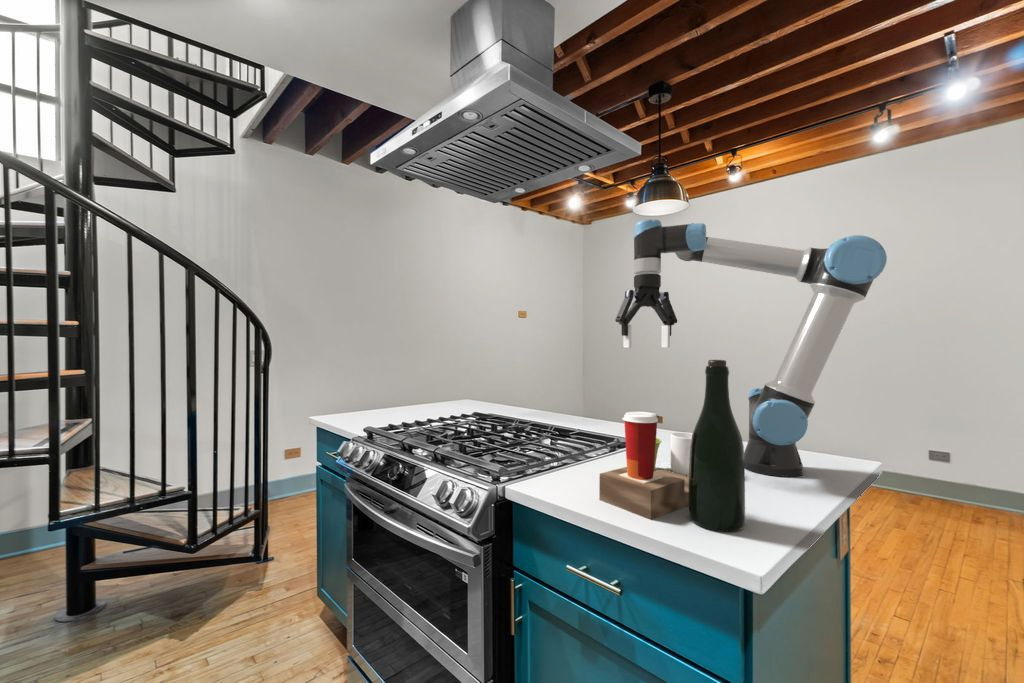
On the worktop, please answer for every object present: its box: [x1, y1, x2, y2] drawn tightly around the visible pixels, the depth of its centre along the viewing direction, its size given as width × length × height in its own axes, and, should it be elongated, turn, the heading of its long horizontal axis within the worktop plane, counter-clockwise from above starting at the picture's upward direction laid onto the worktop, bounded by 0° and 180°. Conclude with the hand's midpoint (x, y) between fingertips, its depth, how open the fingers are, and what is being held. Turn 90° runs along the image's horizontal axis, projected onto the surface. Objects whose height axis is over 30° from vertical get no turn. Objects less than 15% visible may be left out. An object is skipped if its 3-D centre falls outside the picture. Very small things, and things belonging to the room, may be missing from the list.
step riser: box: [598, 466, 689, 520], centre depth 104 cm, size 24×14×6 cm, turn 126°
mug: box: [670, 431, 693, 476], centre depth 123 cm, size 12×8×10 cm
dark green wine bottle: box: [687, 359, 746, 532], centre depth 90 cm, size 10×10×33 cm
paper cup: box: [622, 411, 659, 480], centre depth 100 cm, size 8×8×14 cm
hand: (646, 347), depth 129 cm, fingers open, 13 cm apart
